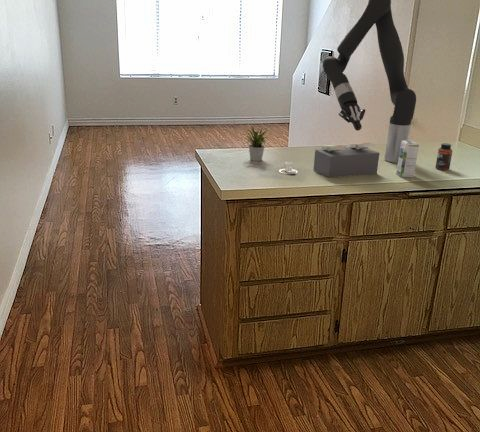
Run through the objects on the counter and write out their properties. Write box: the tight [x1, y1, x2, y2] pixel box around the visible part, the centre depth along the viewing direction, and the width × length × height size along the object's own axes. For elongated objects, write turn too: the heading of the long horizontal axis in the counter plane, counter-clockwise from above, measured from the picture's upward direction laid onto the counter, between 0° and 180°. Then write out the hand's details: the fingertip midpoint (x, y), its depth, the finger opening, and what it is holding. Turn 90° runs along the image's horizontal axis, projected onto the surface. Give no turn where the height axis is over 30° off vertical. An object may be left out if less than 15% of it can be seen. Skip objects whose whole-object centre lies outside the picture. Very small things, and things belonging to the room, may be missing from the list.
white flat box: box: [349, 142, 375, 149], centre depth 223 cm, size 5×10×2 cm, turn 23°
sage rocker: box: [321, 144, 346, 151], centre depth 218 cm, size 5×10×2 cm, turn 23°
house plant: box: [242, 123, 272, 162], centre depth 235 cm, size 14×14×16 cm
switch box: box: [313, 146, 380, 179], centre depth 223 cm, size 24×12×9 cm, turn 113°
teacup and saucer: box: [278, 161, 298, 175], centre depth 220 cm, size 9×8×4 cm
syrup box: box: [396, 139, 420, 178], centre depth 220 cm, size 6×6×14 cm
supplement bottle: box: [435, 142, 453, 171], centre depth 233 cm, size 6×6×11 cm
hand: (359, 129), depth 224 cm, fingers closed
